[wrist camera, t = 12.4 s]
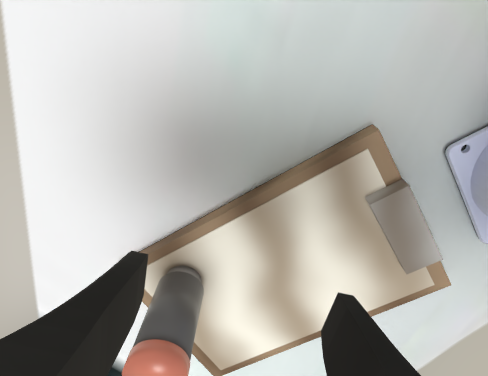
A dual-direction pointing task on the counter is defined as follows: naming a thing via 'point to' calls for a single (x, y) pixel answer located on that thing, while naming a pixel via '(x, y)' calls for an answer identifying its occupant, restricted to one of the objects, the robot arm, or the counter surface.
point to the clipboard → (302, 253)
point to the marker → (168, 326)
